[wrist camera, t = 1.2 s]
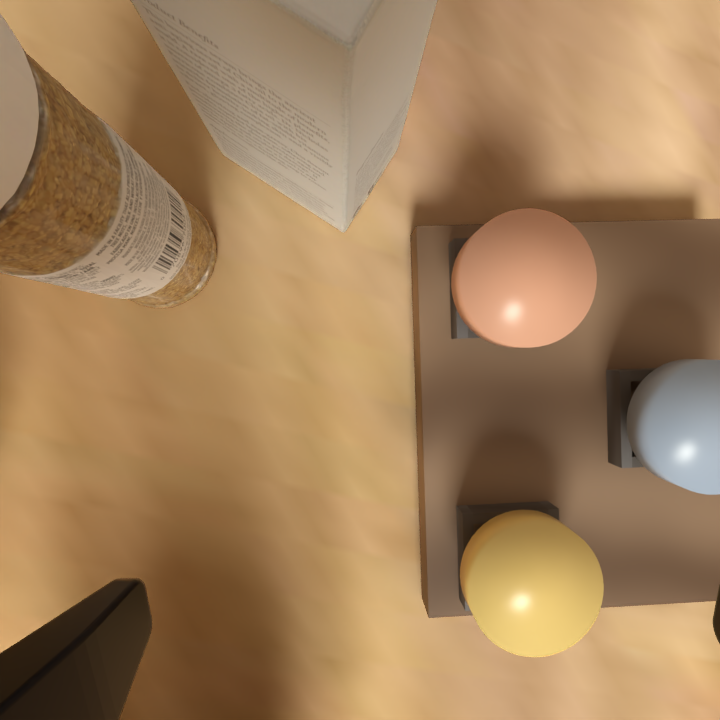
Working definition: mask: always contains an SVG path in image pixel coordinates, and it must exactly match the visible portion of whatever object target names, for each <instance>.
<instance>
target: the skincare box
mask: <svg viewBox="0 0 720 720" xmlns="http://www.w3.org/2000/svg"><path fill="white" fill-rule="evenodd" d="M131 2H132V3H133V5H134V7H135V8H136V10H137V12H138V13H139V15H140V17H141V18H142V20H143V22H144V24H145V25H146V27H147V29H148V30H149V32H150V34H151V35H152V37H153V39H154V41H155V42H156V44H157V46H158V47H159V49H160V51H161V52H162V54H163V56H164V58H165V59H166V61H167V63H168V64H169V66H170V67H171V69H172V71H173V72H174V74H175V76H176V77H177V79H178V81H179V82H180V84H181V86H182V88H183V89H184V91H185V93H186V94H187V96H188V98H189V99H190V101H191V103H192V104H193V106H194V108H195V109H196V111H197V113H198V114H199V116H200V118H201V120H202V121H203V123H204V125H205V126H206V128H207V130H208V131H209V133H210V135H211V136H212V138H213V140H214V142H215V143H216V145H217V147H218V148H219V150H220V151H221V153H222V154H223V155H224V156H225V157H227V158H228V159H230V160H232V161H233V162H235V163H236V164H238V165H239V166H241V167H242V168H244V169H245V170H247V171H249V172H250V173H252V174H253V175H255V176H256V177H258V178H259V179H261V180H262V181H264V182H265V183H267V184H269V185H270V186H272V187H273V188H275V189H276V190H278V191H279V192H281V193H282V194H284V195H286V196H287V197H289V198H290V199H292V200H293V201H295V202H296V203H298V204H299V205H301V206H303V207H304V208H306V209H307V210H309V211H310V212H312V213H314V214H315V215H317V216H318V217H320V218H321V219H323V220H324V221H326V222H327V223H329V224H331V225H332V226H334V227H335V228H337V229H338V230H340V231H341V232H345V231H346V230H347V228H348V227H349V225H350V224H351V222H352V220H353V219H354V217H355V216H356V214H357V213H358V211H359V210H360V208H361V207H362V205H363V204H364V202H365V201H366V199H367V198H368V196H369V194H370V193H371V191H372V189H373V188H374V186H375V184H376V183H377V181H378V179H379V178H380V176H381V175H382V173H383V171H384V170H385V168H386V167H387V165H388V163H389V162H390V160H391V159H392V157H393V156H394V154H395V153H396V151H397V149H398V146H399V142H400V138H401V134H402V131H403V127H404V124H405V120H406V116H407V112H408V108H409V105H410V101H411V97H412V94H413V90H414V86H415V82H416V78H417V75H418V71H419V67H420V63H421V60H422V56H423V52H424V49H425V44H426V40H427V37H428V33H429V29H430V25H431V21H432V17H433V14H434V11H435V8H436V4H437V0H131Z"/></svg>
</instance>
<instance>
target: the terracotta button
mask: <svg viewBox="0 0 720 720" xmlns="http://www.w3.org/2000/svg"><path fill="white" fill-rule="evenodd" d="M596 284H597V272H596V265H595V260H594V257H593V254H592V251H591V249H590V247H589V245H588V243H587V241H586V240H585V238H584V237H583V235H582V234H581V233H580V232H579V230H578V229H577V228H576V227H575V226H574V225H572V224H571V223H570V222H569V221H567V220H566V219H564V218H563V217H561V216H559V215H557V214H555V213H552V212H549V211H546V210H541V209H535V208H523V209H516V210H511V211H508V212H505V213H502V214H500V215H498V216H496V217H495V218H493V219H491V220H490V221H489V222H487V223H486V224H485V225H483V226H482V227H481V228H480V229H479V230H478V231H476V232H475V233H474V234H473V235H472V236H471V237H470V238H469V239H468V240H467V241H466V242H465V244H464V245H463V246H462V248H461V250H460V251H459V253H458V255H457V258H456V260H455V263H454V266H453V271H452V277H451V288H452V296H453V300H454V304H455V306H456V309H457V311H458V313H459V315H460V317H461V318H462V320H463V321H464V323H465V324H466V325H467V326H468V327H469V328H470V330H471V331H473V332H474V333H475V334H476V335H477V336H479V337H481V338H482V339H484V340H485V341H488V342H490V343H492V344H495V345H498V346H503V347H511V348H532V347H540V346H545V345H549V344H551V343H554V342H556V341H558V340H560V339H562V338H564V337H565V336H567V335H568V334H569V333H571V332H572V331H573V330H574V329H575V328H576V327H577V326H578V325H579V324H580V323H581V322H582V320H583V319H584V318H585V316H586V314H587V313H588V311H589V309H590V307H591V305H592V302H593V299H594V296H595V291H596Z"/></svg>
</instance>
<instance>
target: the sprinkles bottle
mask: <svg viewBox="0 0 720 720" xmlns="http://www.w3.org/2000/svg"><path fill="white" fill-rule="evenodd" d="M215 262H216V242H215V237H214V234H213V232H212V230H211V228H210V226H209V224H208V221H207V220H206V218H205V217H204V216H203V215H202V213H201V212H200V211H199V210H198V209H197V208H196V207H195V206H194V205H192V204H191V203H190V202H188V201H186V200H184V199H182V198H181V197H180V195H179V194H178V192H177V191H176V190H175V189H174V188H173V187H172V186H171V185H170V184H169V183H168V182H167V181H166V180H165V179H164V178H163V177H162V176H160V175H159V174H158V173H157V172H156V171H155V170H154V169H153V168H152V167H151V166H150V165H149V164H148V163H147V162H146V161H145V160H144V159H143V158H142V157H141V156H140V155H139V154H138V153H137V152H136V151H135V150H134V149H133V148H132V147H131V146H130V145H129V144H128V143H126V142H125V141H124V140H123V139H122V138H121V137H120V136H119V135H118V134H117V133H116V132H115V131H114V130H113V129H112V128H111V127H110V126H109V125H108V124H106V123H105V122H104V121H103V120H102V119H100V118H99V117H98V116H96V115H95V114H93V113H92V112H91V111H90V110H88V109H87V108H86V107H85V106H84V105H82V104H81V103H80V102H79V101H78V100H77V99H76V98H75V97H74V96H73V95H72V94H71V93H70V92H68V91H67V90H66V89H65V88H64V87H63V86H62V85H61V84H60V83H59V82H58V81H57V80H56V79H54V78H53V77H52V76H51V75H50V74H49V73H47V72H46V71H45V70H44V69H43V68H42V67H41V66H40V65H39V64H38V63H37V62H36V61H35V60H34V59H32V58H31V57H30V56H29V55H27V54H26V52H25V51H24V49H23V48H22V46H21V45H20V43H19V41H18V39H17V38H16V36H15V35H14V33H13V32H12V30H11V29H10V27H9V25H8V24H7V22H6V21H5V19H4V18H3V17H2V15H1V14H0V273H4V274H8V275H12V276H17V277H21V278H26V279H31V280H35V281H40V282H45V283H49V284H54V285H58V286H63V287H68V288H72V289H76V290H81V291H85V292H89V293H94V294H98V295H102V296H107V297H112V298H119V299H128V300H131V301H134V302H136V303H138V304H140V305H143V306H146V307H151V308H170V307H173V306H176V305H179V304H182V303H184V302H186V301H188V300H190V299H191V298H193V297H194V296H196V295H197V293H199V292H200V291H201V290H202V289H203V288H204V287H205V285H206V284H207V283H208V281H209V278H210V276H211V275H212V272H213V269H214V264H215Z"/></svg>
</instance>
